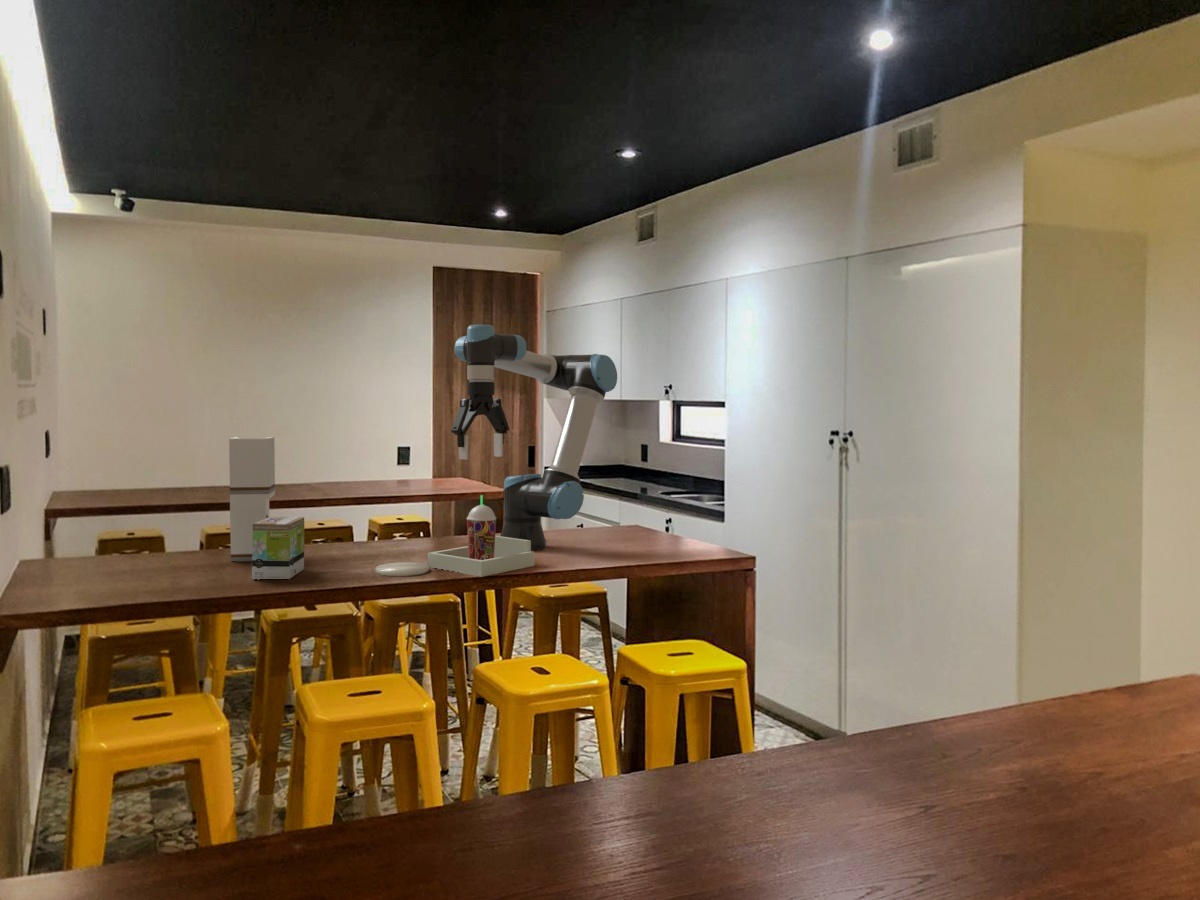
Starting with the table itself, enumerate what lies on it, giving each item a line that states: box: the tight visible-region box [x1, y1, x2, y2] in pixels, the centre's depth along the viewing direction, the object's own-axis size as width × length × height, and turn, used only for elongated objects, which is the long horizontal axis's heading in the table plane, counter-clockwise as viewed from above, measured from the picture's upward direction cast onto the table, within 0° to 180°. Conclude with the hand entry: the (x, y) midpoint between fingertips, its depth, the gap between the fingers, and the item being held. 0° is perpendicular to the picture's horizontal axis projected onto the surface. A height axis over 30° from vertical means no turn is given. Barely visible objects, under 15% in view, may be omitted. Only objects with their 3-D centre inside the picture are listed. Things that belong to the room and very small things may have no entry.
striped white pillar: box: [228, 436, 276, 562], centre depth 269 cm, size 11×11×35 cm
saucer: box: [375, 561, 430, 577], centre depth 251 cm, size 14×14×1 cm
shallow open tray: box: [427, 535, 536, 578], centre depth 259 cm, size 21×21×7 cm
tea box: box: [251, 516, 305, 581], centre depth 244 cm, size 15×10×15 cm
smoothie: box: [466, 494, 497, 560], centre depth 258 cm, size 8×8×20 cm
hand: (481, 457), depth 257 cm, fingers open, 13 cm apart
